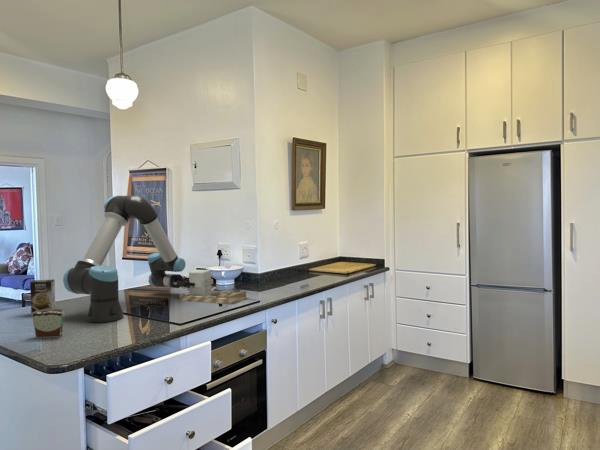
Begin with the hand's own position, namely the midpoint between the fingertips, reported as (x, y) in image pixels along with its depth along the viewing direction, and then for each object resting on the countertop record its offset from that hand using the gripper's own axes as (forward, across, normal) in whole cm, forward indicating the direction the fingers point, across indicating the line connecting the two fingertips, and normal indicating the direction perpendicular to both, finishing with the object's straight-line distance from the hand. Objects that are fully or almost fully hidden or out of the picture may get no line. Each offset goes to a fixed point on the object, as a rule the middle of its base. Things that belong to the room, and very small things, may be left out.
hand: (206, 282), depth 238 cm
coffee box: (-55, +55, -9) cm, 78 cm away
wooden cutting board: (+4, -2, -8) cm, 9 cm away
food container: (-19, +78, -9) cm, 80 cm away
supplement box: (-4, 0, -9) cm, 10 cm away
